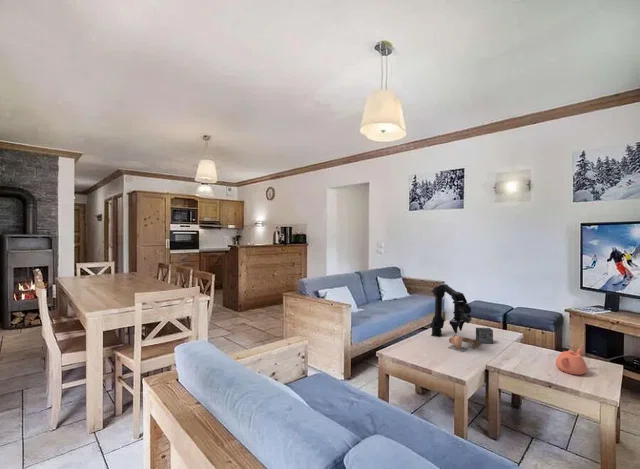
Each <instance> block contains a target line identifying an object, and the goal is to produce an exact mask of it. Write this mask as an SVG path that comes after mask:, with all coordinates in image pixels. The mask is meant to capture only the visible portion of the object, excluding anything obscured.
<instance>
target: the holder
mask: <svg viewBox="0 0 640 469" xmlns="http://www.w3.org/2000/svg"><path fill="white" fill-rule="evenodd" d="M454 336H458V335H457V334H454V335H452V337H454ZM461 337H462V342H465V343H469V344H472V347H473V349H476V348H478V347H479V346H481V343H480V341H479V340H476V338H474V339H473V338H470V337H464V336H461ZM448 341H449V344H451V337H450V338H449V339H448Z"/></svg>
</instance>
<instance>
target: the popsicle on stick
mask: <svg viewBox="0 0 640 469" xmlns="http://www.w3.org/2000/svg"><path fill="white" fill-rule="evenodd" d="M453 336H454V335H453ZM453 336H450V338H451V343H450V345H454V348H456V349H462V347H463V341H462V337H463V336H460V335H457V336H454V337H453Z"/></svg>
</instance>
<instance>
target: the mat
mask: <svg viewBox="0 0 640 469" xmlns="http://www.w3.org/2000/svg"><path fill="white" fill-rule="evenodd" d="M448 349H450V350H454V351H458V352H462V353H465V352H466V351H467V350H468V349H469V347H465V346H462V349H456V348H454V344H450V345H449V346H448Z"/></svg>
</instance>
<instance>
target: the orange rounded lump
mask: <svg viewBox="0 0 640 469" xmlns="http://www.w3.org/2000/svg"><path fill="white" fill-rule="evenodd" d="M581 351H582V348H581V347H579V348H577V350H576V352H575V351H574V350H571V349H568V350H564V351H562V352H560V353H559V354H558V356H557V357H556V359H555V366H556V367H557V369H558V370H560V371H561V372H563V371H564V372H563V373H567V374H571V375H574V374H575V375H576V376H579V375H580V376H581V375H584V374H586V373H587V371H588V366H587V364H586V361H585V360H584V358H583V356H582V352H581Z"/></svg>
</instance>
